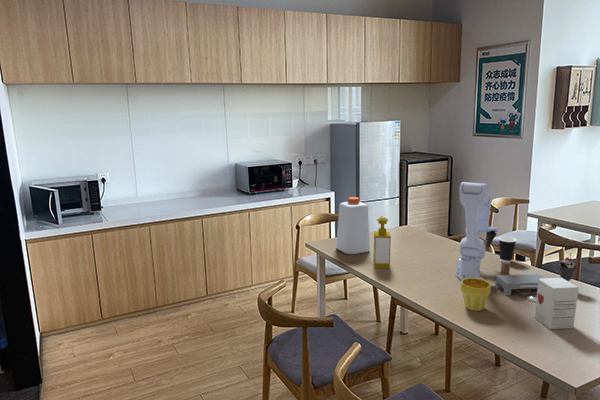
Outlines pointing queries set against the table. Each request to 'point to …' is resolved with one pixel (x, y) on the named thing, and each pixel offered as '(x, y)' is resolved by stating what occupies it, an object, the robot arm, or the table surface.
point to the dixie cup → (506, 248)
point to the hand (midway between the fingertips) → (480, 246)
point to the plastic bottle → (353, 227)
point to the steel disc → (532, 297)
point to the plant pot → (475, 293)
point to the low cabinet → (517, 282)
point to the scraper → (523, 292)
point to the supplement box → (556, 303)
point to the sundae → (567, 269)
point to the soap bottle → (382, 246)
